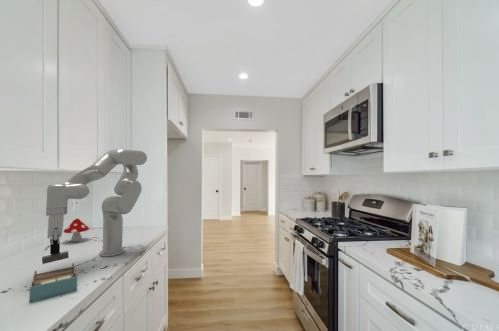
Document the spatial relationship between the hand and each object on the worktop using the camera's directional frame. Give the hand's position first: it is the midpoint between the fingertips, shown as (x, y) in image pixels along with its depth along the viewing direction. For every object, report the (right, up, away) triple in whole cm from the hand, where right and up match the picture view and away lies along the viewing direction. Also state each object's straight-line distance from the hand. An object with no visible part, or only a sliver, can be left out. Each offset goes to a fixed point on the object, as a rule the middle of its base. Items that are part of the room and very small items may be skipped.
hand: (54, 251), depth 104 cm
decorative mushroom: (-26, -11, +48) cm, 56 cm away
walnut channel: (+8, -9, -9) cm, 15 cm away
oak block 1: (+12, -6, -17) cm, 22 cm away
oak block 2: (+16, -6, -14) cm, 22 cm away
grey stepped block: (0, -4, 0) cm, 4 cm away
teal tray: (+15, -8, -18) cm, 25 cm away
